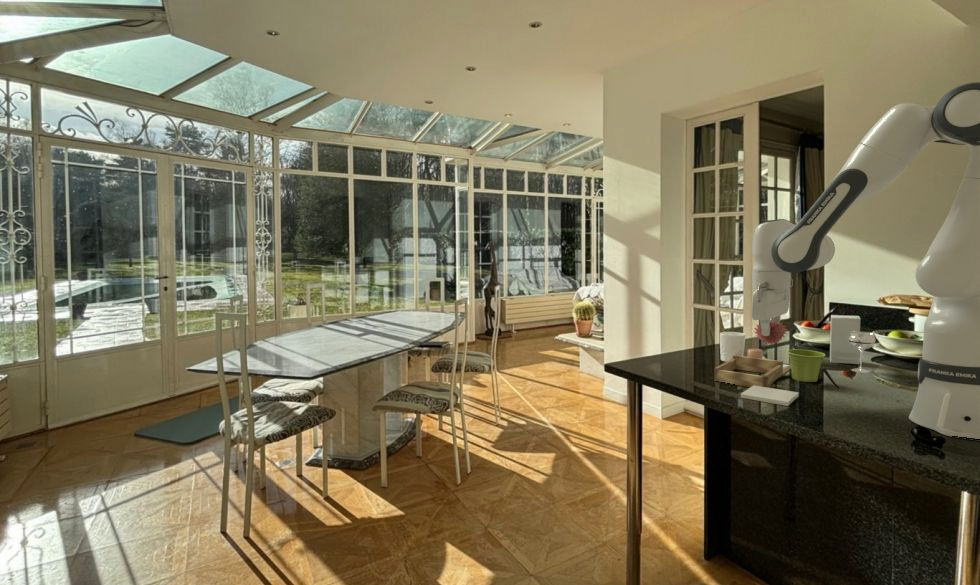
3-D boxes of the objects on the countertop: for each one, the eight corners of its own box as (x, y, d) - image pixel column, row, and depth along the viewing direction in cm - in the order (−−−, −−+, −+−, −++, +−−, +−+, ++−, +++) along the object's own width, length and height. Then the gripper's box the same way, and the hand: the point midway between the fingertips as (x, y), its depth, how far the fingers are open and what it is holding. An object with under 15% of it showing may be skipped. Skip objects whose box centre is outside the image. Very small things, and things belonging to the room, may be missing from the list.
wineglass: (879, 373, 159) (881, 334, 158) (857, 373, 159) (859, 334, 158) (863, 368, 166) (865, 331, 164) (842, 368, 166) (844, 331, 164)
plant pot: (817, 378, 153) (818, 350, 152) (828, 387, 144) (830, 356, 143) (782, 377, 156) (783, 348, 155) (791, 385, 147) (792, 355, 146)
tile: (798, 396, 136) (798, 392, 136) (787, 406, 128) (787, 402, 128) (753, 388, 144) (753, 385, 143) (740, 397, 135) (740, 393, 135)
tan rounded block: (764, 364, 167) (764, 349, 167) (759, 367, 164) (759, 352, 164) (750, 362, 170) (750, 347, 170) (744, 365, 167) (745, 350, 167)
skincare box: (858, 361, 175) (860, 315, 173) (859, 365, 169) (862, 318, 168) (828, 358, 179) (830, 314, 178) (829, 362, 174) (831, 316, 172)
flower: (779, 324, 132) (778, 310, 136) (748, 334, 137) (748, 321, 141) (794, 345, 134) (793, 330, 138) (763, 354, 139) (763, 340, 143)
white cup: (747, 365, 170) (748, 336, 169) (721, 365, 172) (722, 335, 171) (740, 360, 178) (741, 332, 177) (716, 359, 180) (717, 331, 179)
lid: (795, 367, 167) (796, 364, 167) (782, 377, 155) (783, 373, 155) (749, 361, 176) (749, 358, 176) (733, 370, 164) (733, 366, 164)
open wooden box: (782, 377, 155) (783, 361, 154) (766, 389, 142) (766, 372, 142) (733, 370, 164) (733, 355, 164) (714, 381, 152) (714, 364, 151)
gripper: (772, 284, 127) (771, 340, 128) (794, 280, 141) (793, 330, 142) (745, 283, 131) (744, 337, 132) (769, 279, 146) (768, 328, 147)
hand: (770, 333), depth 137 cm, fingers closed on flower, 6 cm apart
